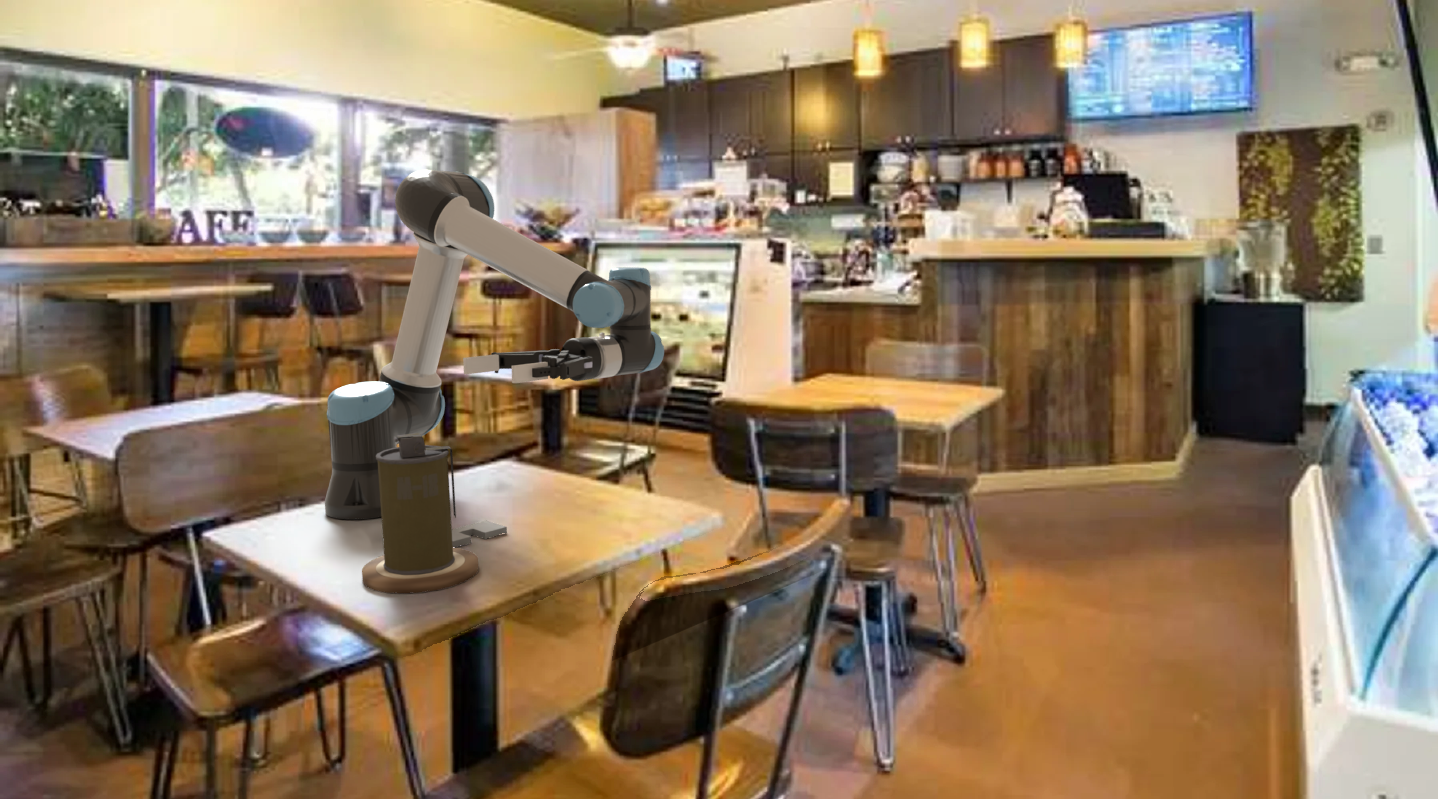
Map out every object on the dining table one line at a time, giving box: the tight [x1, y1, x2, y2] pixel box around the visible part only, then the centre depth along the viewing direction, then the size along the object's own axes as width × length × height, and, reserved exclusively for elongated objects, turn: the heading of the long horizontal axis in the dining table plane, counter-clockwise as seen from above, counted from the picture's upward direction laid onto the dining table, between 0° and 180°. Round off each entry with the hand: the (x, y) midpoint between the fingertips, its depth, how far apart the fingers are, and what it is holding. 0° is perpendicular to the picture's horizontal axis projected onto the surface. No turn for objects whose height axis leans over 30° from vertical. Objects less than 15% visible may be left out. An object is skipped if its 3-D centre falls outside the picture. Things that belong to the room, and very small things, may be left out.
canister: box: [376, 433, 457, 575], centre depth 150 cm, size 11×10×20 cm
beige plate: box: [361, 547, 480, 595], centre depth 152 cm, size 17×17×2 cm
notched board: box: [452, 519, 508, 548], centre depth 170 cm, size 6×12×1 cm, turn 138°
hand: (488, 370), depth 162 cm, fingers open, 13 cm apart
